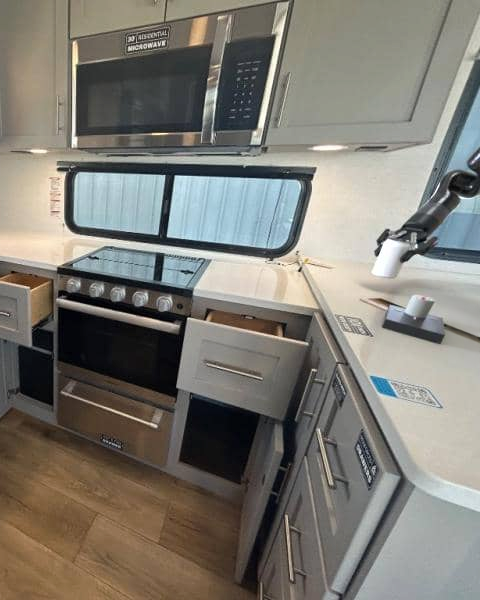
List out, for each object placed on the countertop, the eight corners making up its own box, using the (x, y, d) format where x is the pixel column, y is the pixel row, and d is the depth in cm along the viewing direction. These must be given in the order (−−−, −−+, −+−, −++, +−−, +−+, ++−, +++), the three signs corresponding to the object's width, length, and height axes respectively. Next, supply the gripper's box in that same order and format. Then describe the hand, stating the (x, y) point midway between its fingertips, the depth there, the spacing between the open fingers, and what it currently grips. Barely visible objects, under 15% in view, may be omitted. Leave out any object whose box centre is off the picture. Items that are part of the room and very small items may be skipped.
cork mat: (389, 299, 107) (390, 298, 107) (431, 315, 96) (432, 314, 96) (359, 300, 105) (360, 298, 105) (398, 316, 94) (399, 314, 94)
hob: (386, 312, 97) (390, 303, 96) (438, 325, 90) (443, 317, 89) (381, 327, 87) (385, 318, 85) (440, 344, 80) (445, 334, 79)
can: (393, 280, 105) (410, 243, 100) (368, 274, 110) (383, 238, 105) (398, 277, 109) (415, 241, 104) (374, 271, 113) (388, 237, 109)
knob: (405, 309, 92) (414, 292, 90) (427, 315, 89) (436, 297, 87) (403, 313, 90) (412, 295, 88) (425, 319, 87) (434, 301, 84)
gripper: (397, 209, 110) (362, 245, 110) (455, 216, 98) (414, 256, 98) (400, 225, 114) (365, 259, 114) (455, 233, 102) (416, 272, 102)
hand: (388, 257), depth 106 cm, fingers closed on can, 6 cm apart
